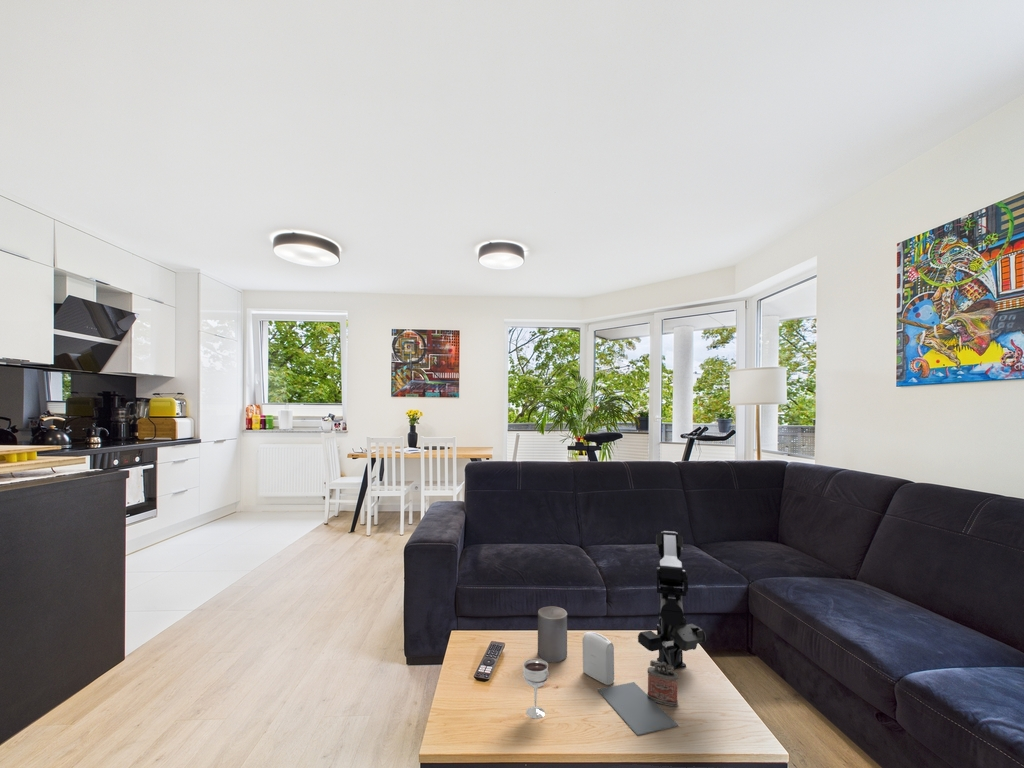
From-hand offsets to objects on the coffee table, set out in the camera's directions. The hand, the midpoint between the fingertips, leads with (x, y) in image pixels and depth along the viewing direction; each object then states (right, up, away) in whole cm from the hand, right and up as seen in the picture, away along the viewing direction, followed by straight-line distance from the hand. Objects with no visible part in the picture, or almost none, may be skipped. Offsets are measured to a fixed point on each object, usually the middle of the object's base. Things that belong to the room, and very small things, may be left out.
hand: (672, 668), depth 130 cm
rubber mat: (-11, -8, -4) cm, 14 cm away
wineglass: (-38, -8, -7) cm, 40 cm away
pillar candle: (-31, -10, +23) cm, 40 cm away
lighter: (-3, -8, -1) cm, 9 cm away
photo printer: (-19, -9, +10) cm, 23 cm away
